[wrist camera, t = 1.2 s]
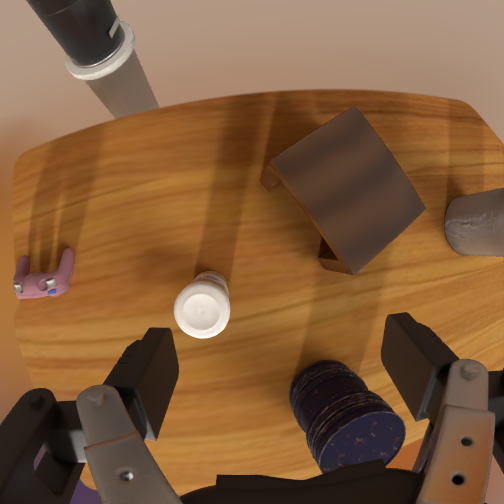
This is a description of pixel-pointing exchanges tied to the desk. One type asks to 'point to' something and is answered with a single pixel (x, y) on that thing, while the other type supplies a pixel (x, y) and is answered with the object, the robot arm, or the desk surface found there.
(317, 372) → the navy ridged cylinder
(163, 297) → the desk surface
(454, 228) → the pillar candle
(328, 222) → the shelf
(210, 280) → the sprinkles bottle
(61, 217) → the desk surface
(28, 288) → the video game controller
